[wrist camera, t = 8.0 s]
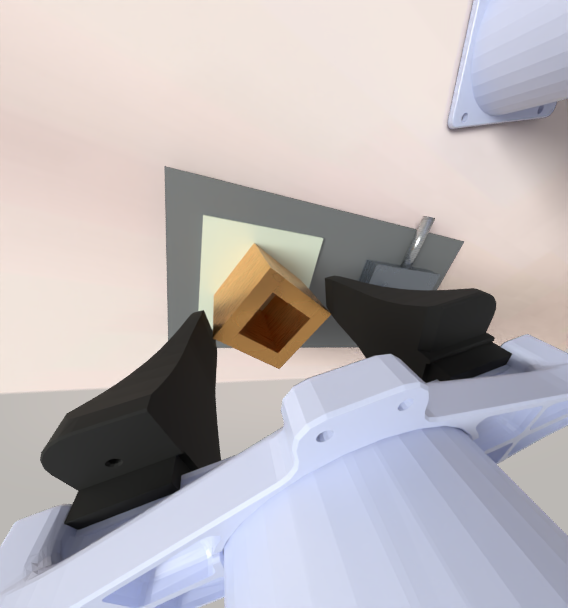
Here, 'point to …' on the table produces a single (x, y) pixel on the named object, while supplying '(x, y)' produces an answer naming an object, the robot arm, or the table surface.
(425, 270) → the vise
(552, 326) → the table surface
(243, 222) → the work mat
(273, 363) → the collar
